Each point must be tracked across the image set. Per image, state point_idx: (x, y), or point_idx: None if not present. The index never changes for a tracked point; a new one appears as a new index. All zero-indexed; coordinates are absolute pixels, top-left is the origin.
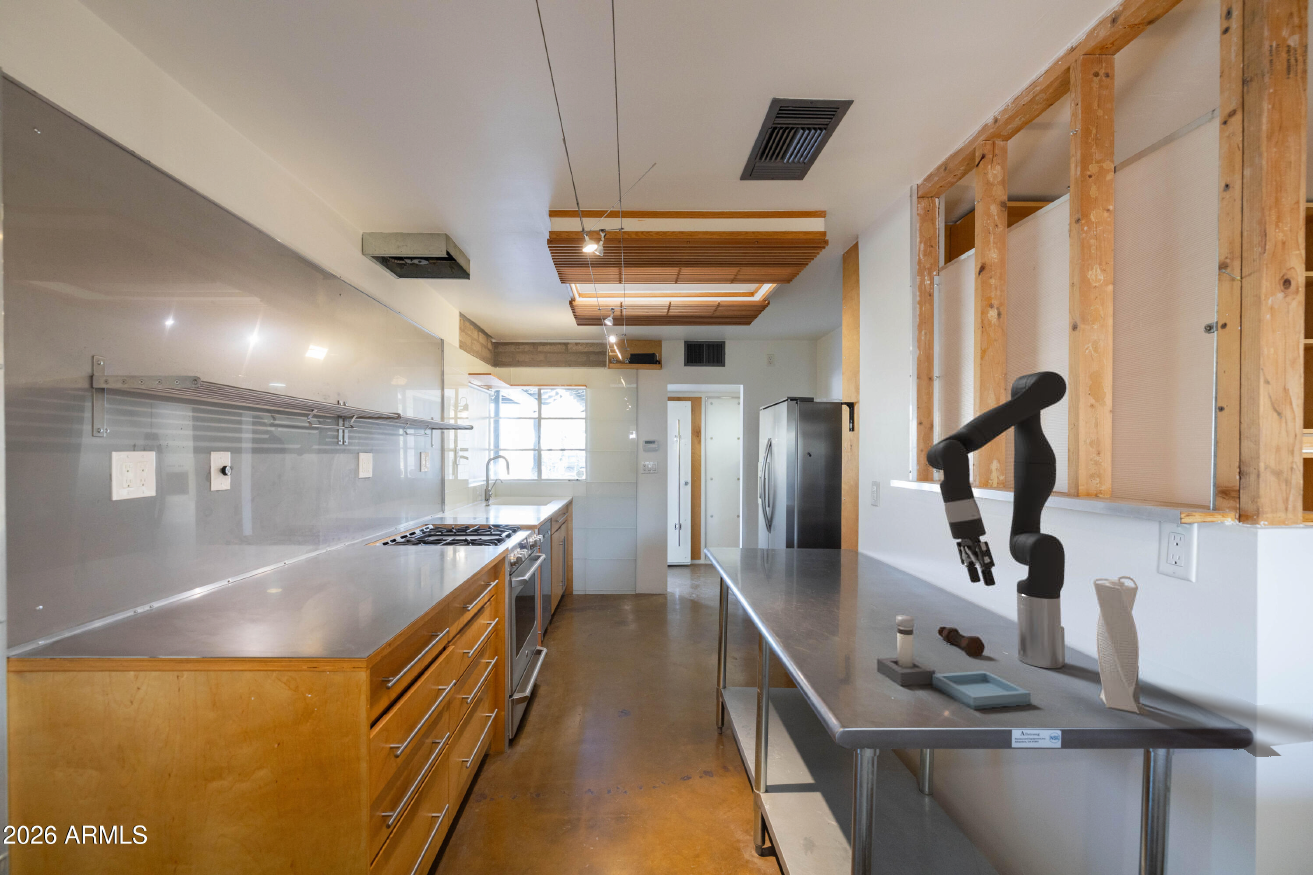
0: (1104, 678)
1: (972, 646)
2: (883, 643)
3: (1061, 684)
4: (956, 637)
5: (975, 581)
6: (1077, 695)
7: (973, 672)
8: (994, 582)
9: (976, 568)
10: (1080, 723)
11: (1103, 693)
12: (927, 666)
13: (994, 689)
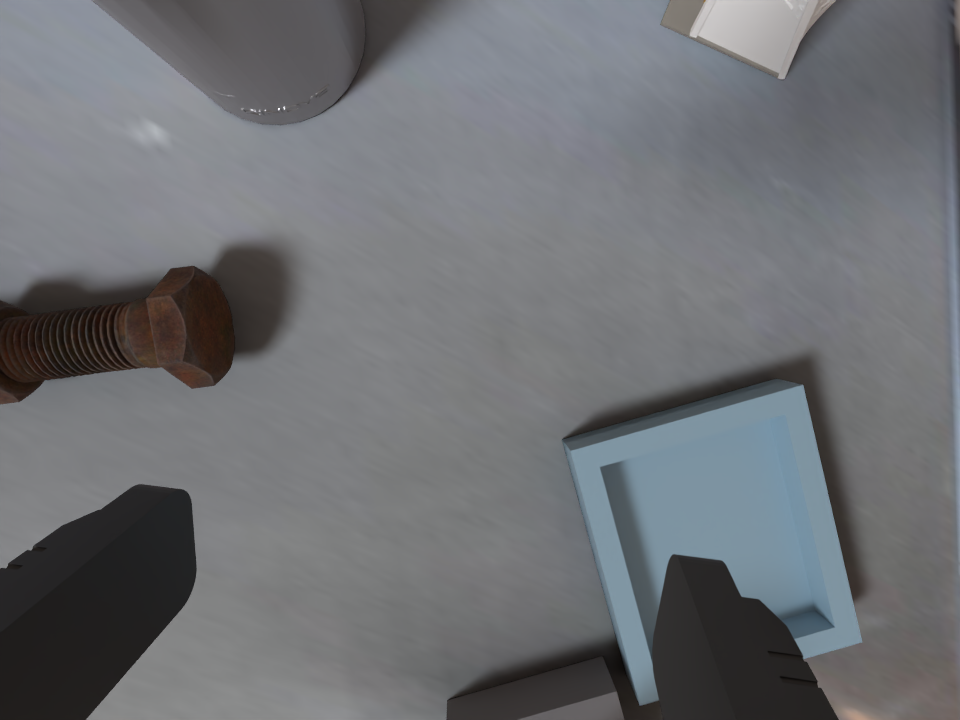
0: (814, 11)
1: (212, 340)
2: (107, 709)
3: (558, 112)
4: (79, 368)
5: (188, 555)
6: (673, 122)
7: (598, 516)
8: (724, 578)
9: (16, 635)
10: (921, 288)
11: (713, 21)
12: (572, 706)
13: (684, 467)
